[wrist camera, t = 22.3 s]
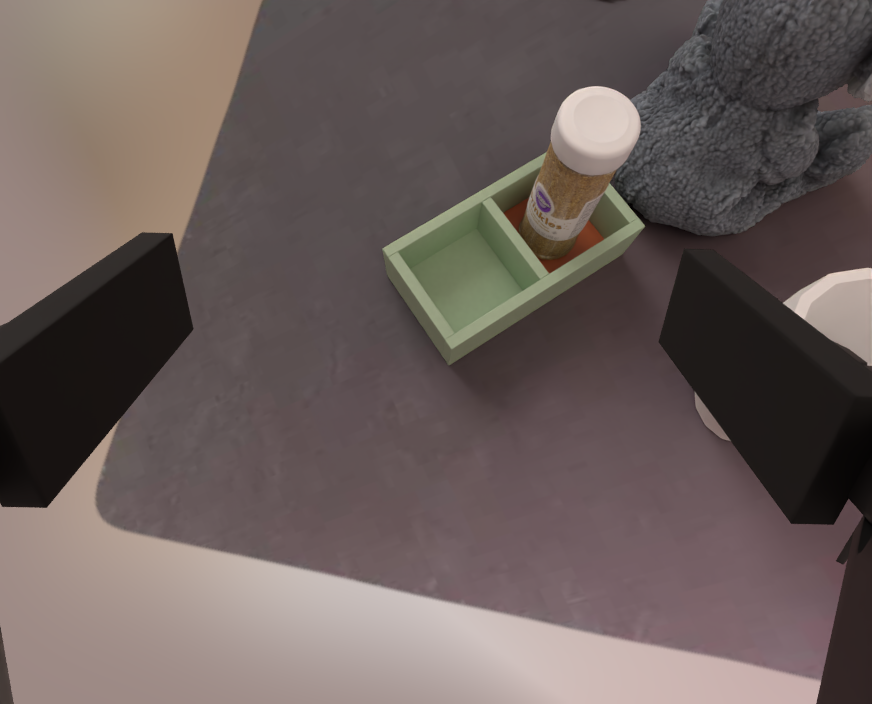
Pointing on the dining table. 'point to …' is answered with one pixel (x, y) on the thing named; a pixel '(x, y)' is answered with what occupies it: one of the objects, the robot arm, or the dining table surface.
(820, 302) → the foam cup
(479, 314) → the green divided tray
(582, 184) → the sprinkles bottle
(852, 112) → the koala plush
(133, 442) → the dining table surface
